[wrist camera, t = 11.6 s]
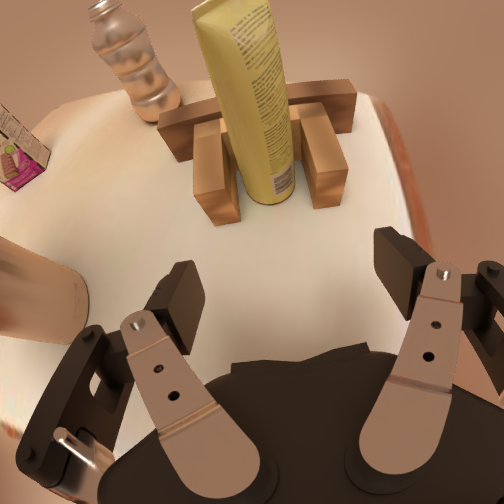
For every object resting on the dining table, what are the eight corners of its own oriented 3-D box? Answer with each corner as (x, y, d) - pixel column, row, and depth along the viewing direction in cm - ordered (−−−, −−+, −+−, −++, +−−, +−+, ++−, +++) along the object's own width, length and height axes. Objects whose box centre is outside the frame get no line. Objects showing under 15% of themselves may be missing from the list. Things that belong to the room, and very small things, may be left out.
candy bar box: (14, 194, 37) (-39, 154, 21) (20, 174, 38) (-29, 134, 23) (46, 171, 36) (-12, 120, 20) (52, 150, 37) (0, 100, 22)
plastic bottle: (175, 125, 32) (107, 1, 13) (135, 130, 33) (63, 26, 14) (191, 95, 34) (139, -19, 15) (152, 100, 35) (95, 2, 16)
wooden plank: (178, 162, 29) (156, 129, 24) (179, 146, 30) (159, 113, 25) (351, 132, 27) (357, 93, 21) (344, 117, 28) (348, 79, 22)
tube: (236, 168, 27) (174, -9, 9) (282, 153, 27) (259, -29, 9) (254, 213, 26) (188, 11, 7) (304, 195, 25) (305, -12, 7)
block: (215, 226, 26) (193, 195, 20) (211, 161, 29) (194, 125, 23) (339, 205, 25) (348, 168, 19) (319, 142, 27) (321, 101, 22)
